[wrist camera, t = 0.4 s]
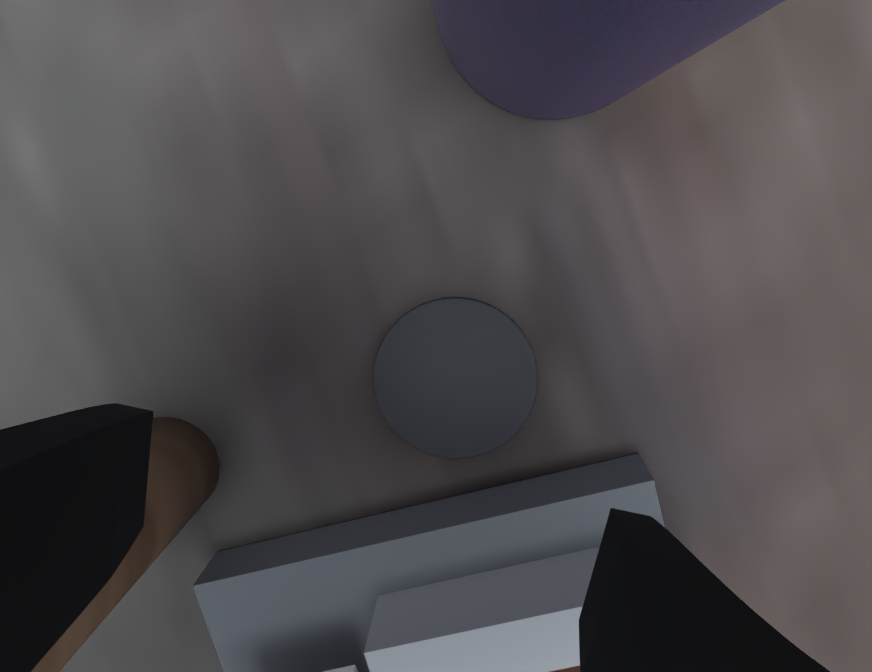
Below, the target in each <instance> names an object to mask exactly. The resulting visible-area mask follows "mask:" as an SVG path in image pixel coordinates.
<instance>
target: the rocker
mask: <svg viewBox="0 0 872 672" xmlns="http://www.w3.org/2000/svg"><path fill="white" fill-rule="evenodd" d="M323 672H358V670H357V668H356V666H355V665H351V666H346V667H342V668H337V669H332V670H328V671H323Z"/></svg>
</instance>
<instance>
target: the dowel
mask: <svg viewBox="0 0 872 672" xmlns="http://www.w3.org/2000/svg"><path fill="white" fill-rule="evenodd" d="M218 476H219V463H218V458H217V454H216V451H215V449H214V447H213V445H212V444H211V442H210V441H209V439H208V438H207V437H206V436H205V435H204V433H203V432H201V431H200V430H199V429H198V428H196V427H195V426H193V425H192V424H190V423H188V422H186V421H183V420H180V419H175V418H167V417H165V418H156V419H153V422H152V434H151V446H150V457H149V469H148V481H147V493H146V505H145V517H144V527H143V528H142V530H141V532H140V533H139V535H138V536H137V538H136V540H135V541H134V543H133V545H132V546H131V548H130V550H129V551H128V553H127V554H126V556H125V557H124V559H123V560H122V562H121V564H120V565H119V567H118V568H117V570H116V571H115V573H114V574H113V576H112V577H111V578H110V580H109V581H108V582H107V583H106V585H105V586H104V587H103V588H102V589H101V591H100V592H99V593H98V594H97V595H96V596H95V598H94V599H93V600H92V601H91V602H90V604H89V605H88V606H87V607H86V608H85V609H84V611H83V612H82V613H81V614H80V615H79V617H78V618H77V619H76V620H75V621H74V622H73V624H72V625H71V626H70V627H69V628H68V629H67V630H66V632H65V633H64V634H63V635H62V636H61V637H60V639H59V640H58V641H57V642H56V643H55V644H54V645H53V647H52V648H51V649H50V650H49V651H48V652H47V654H46V655H45V656H44V657H43V658H42V659H41V661H40V662H39V663H38V664H37V665H36V666H35V667H34V669H33V670H32V671H31V672H59V671H60V670H61V669H62V668H63V667H64V665H65V664H66V663H67V662H68V661H69V660H70V658H71V657H72V656H73V655H74V654H75V653H76V651H77V650H78V649H79V648H80V647H81V646H82V644H83V643H84V642H85V641H86V640H87V639H88V637H89V636H90V635H91V634H92V633H93V632H94V630H95V629H96V628H97V627H98V626H99V625H100V623H101V622H102V621H103V620H104V619H105V618H106V616H107V615H108V614H109V613H110V612H111V611H112V609H113V608H114V607H115V606H116V605H117V604H118V602H119V601H120V600H121V599H122V598H123V597H124V595H125V594H126V593H127V592H128V591H129V590H130V588H131V587H132V586H133V585H134V584H135V583H136V581H137V580H138V579H139V578H140V577H141V576H142V574H143V573H144V572H145V571H146V570H147V569H148V567H149V566H150V565H151V564H152V563H153V562H154V560H155V559H156V558H157V557H158V556H159V555H160V553H161V552H162V551H163V550H164V549H165V548H166V546H167V545H168V544H169V543H170V542H171V541H172V539H173V538H174V537H175V536H176V535H177V534H178V532H179V531H180V530H181V529H182V528H183V527H184V525H185V524H186V523H187V522H188V521H189V520H190V518H191V517H192V516H193V515H194V514H195V513H196V511H197V510H198V509H199V508H200V507H201V506H202V504H203V503H204V502H205V501H206V500H207V499H208V497H209V496H210V495H211V494H212V492H213V490H214V489H215V486H216V484H217V481H218Z"/></svg>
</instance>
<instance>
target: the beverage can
mask: <svg viewBox="0 0 872 672" xmlns="http://www.w3.org/2000/svg"><path fill="white" fill-rule="evenodd" d="M783 1H785V0H431V2H432V5H433V9H434V13H435V16H436V20H437V24H438V27H439V31H440V34H441V38H442V41H443V43H444V46H445V48H446V50H447V53H448V55H449V57H450V59H451V60H452V62H453V64H454V65H455V67H456V69H457V70H458V72H459V73H460V74H461V75H462V77H463V78H464V79H465V80H466V81H467V83H468V84H469V85H470V86H471V87H472V88H473V89H474V90H475V91H477V92H478V93H479V94H480V95H481V96H483V97H484V98H485V99H487V100H488V101H490V102H491V103H493V104H495V105H497V106H498V107H500V108H502V109H504V110H507V111H509V112H512V113H515V114H517V115H521V116H525V117H530V118H535V119H549V120H555V119H566V118H573V117H577V116H581V115H585V114H588V113H591V112H593V111H596V110H598V109H600V108H602V107H604V106H607V105H608V104H610V103H612V102H614V101H615V100H617V99H619V98H620V97H622V96H624V95H625V94H627V93H629V92H630V91H632V90H634V89H636V88H637V87H639V86H641V85H642V84H644V83H646V82H647V81H649V80H651V79H652V78H654V77H656V76H658V75H659V74H661V73H663V72H664V71H666V70H668V69H669V68H671V67H673V66H674V65H676V64H678V63H680V62H681V61H683V60H685V59H686V58H688V57H690V56H691V55H693V54H695V53H697V52H698V51H700V50H702V49H703V48H705V47H707V46H708V45H710V44H712V43H713V42H715V41H717V40H719V39H720V38H722V37H724V36H725V35H727V34H729V33H730V32H732V31H734V30H735V29H737V28H739V27H741V26H742V25H744V24H746V23H747V22H749V21H751V20H752V19H754V18H756V17H757V16H759V15H761V14H763V13H764V12H766V11H768V10H769V9H771V8H773V7H774V6H776V5H778V4H780V3H781V2H783Z"/></svg>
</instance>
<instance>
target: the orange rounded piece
mask: <svg viewBox="0 0 872 672" xmlns="http://www.w3.org/2000/svg"><path fill="white" fill-rule="evenodd" d="M550 672H580V665H579V666H575V667H570V668H565V669H560V670H555V671H550Z"/></svg>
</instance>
